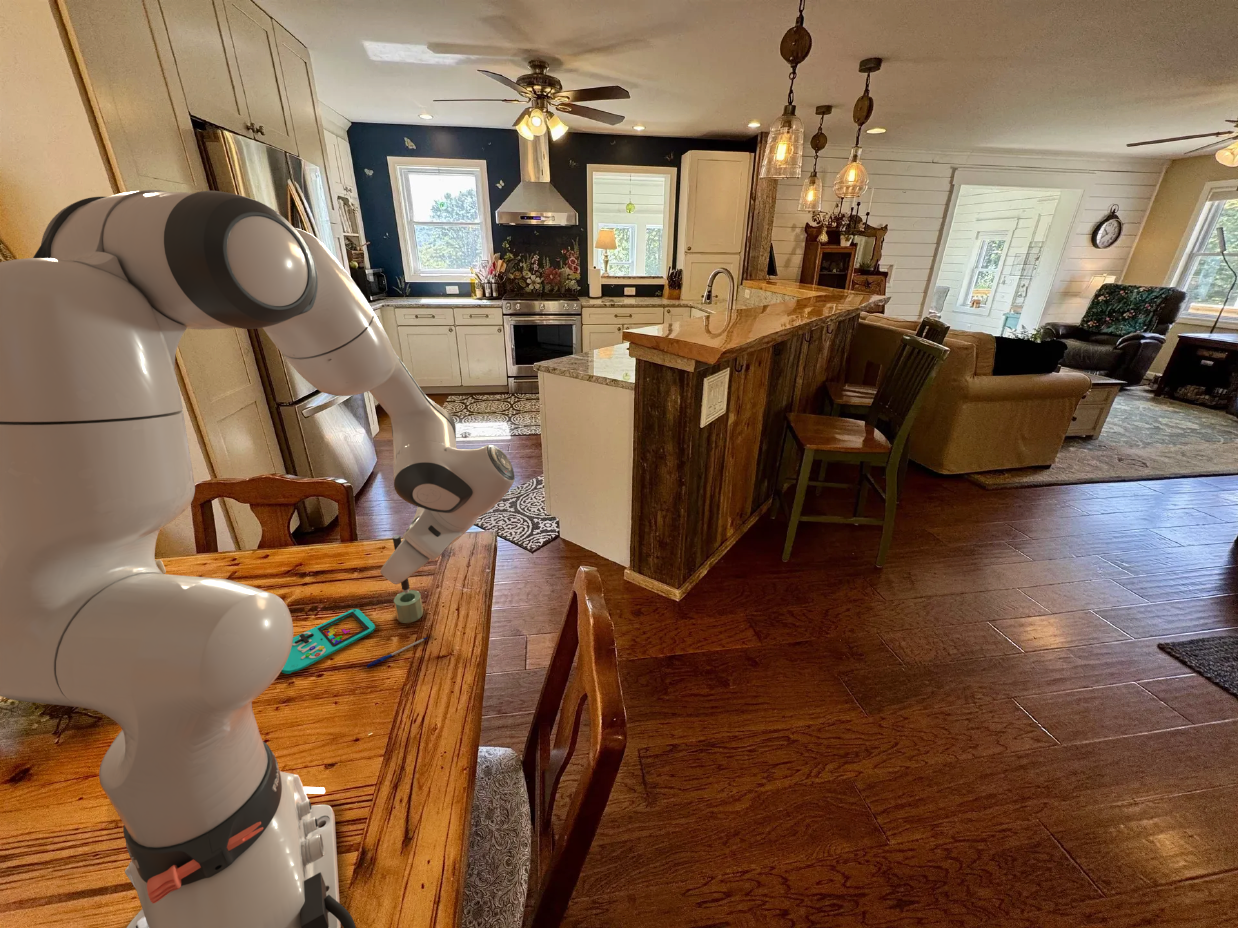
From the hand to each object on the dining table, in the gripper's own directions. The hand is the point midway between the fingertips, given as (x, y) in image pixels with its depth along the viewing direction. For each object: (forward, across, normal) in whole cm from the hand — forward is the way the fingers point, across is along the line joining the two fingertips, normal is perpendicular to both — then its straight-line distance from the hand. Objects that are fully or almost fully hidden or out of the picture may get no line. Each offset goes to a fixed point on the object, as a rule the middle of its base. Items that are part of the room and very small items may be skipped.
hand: (397, 561), depth 89 cm
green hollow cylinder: (+8, 0, +9) cm, 12 cm away
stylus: (+4, 0, +5) cm, 7 cm away
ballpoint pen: (+7, +10, +11) cm, 16 cm away
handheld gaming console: (+17, +8, +1) cm, 19 cm away
